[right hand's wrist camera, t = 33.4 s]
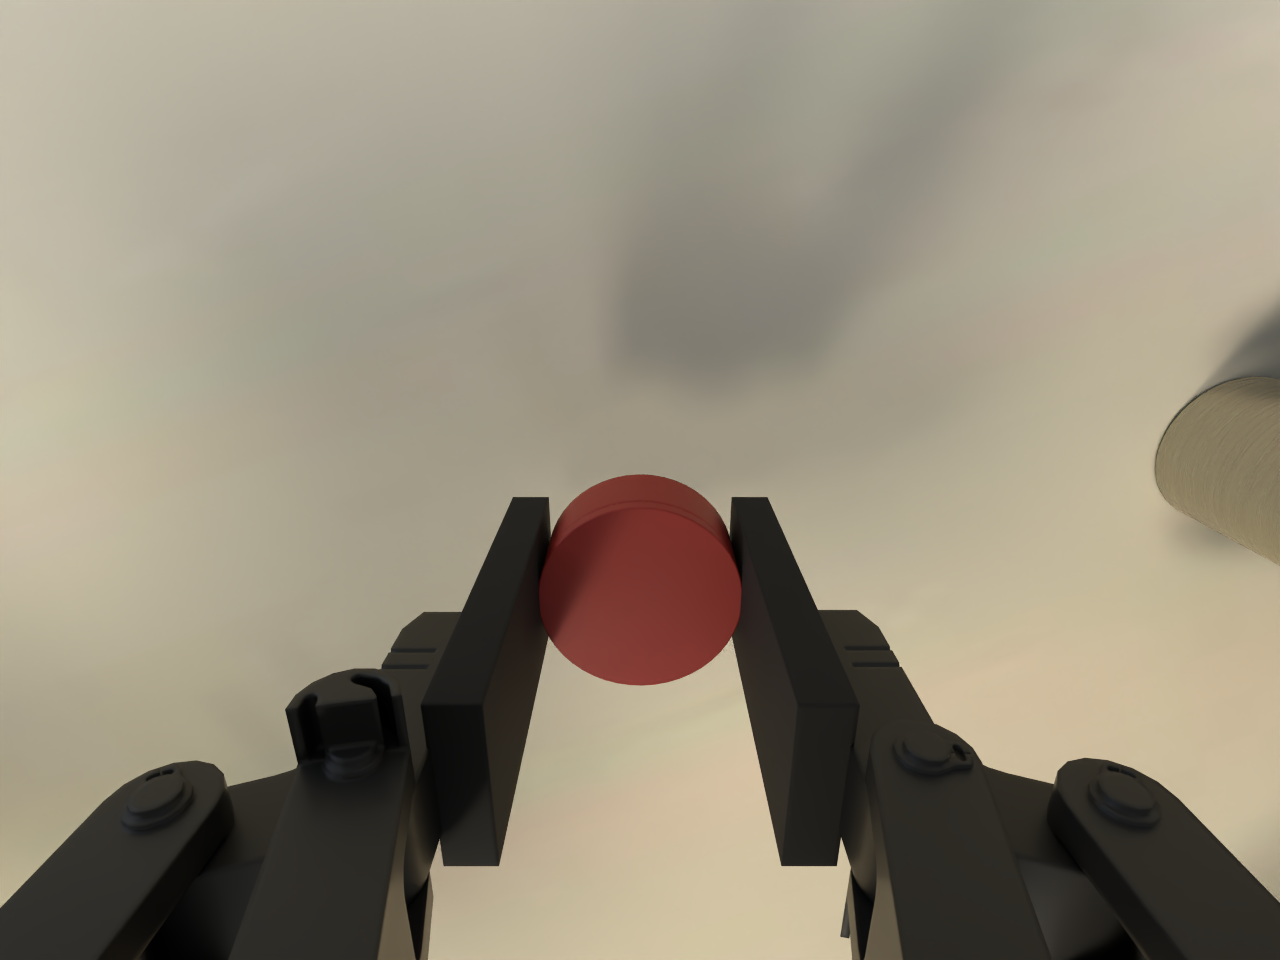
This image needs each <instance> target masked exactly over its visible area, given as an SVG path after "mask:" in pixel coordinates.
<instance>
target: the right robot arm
mask: <svg viewBox="0 0 1280 960" xmlns="http://www.w3.org/2000/svg"><path fill="white" fill-rule="evenodd" d="M550 539H551V531H550V512H549V497H513V498H512V501H511V503H510V505H509V507H508V510H507V512H506V514H505V516H504V519H503V521H502V523H501V525H500V528H499V530H498V532H497V534H496V537H495V539H494V541H493V543H492V546H491V548H490V550H489V552H488V555H487V557H486V559H485V561H484V563H483V566H482V568H481V570H480V572H479V575H478V577H477V579H476V581H475V584H474V586H473V588H472V590H471V593H470V595H469V597H468V599H467V602H466V604H465V606H464V608H463V611H462V612H423V613H422V614H421V615H420V616H418V617H417V618H416V619H414V620H413V621H412V622H411V623H409V624H408V625H407V626H406V627H404V628H403V629H402V630H401V632H400V634H399V636H398V637H397V639H396V641H395V643H394V644H393V646H392V648H391V653H388V655H387V657H386V658H385V660H384V662H383V664H382V669H379V670H378V669H351V670H346V671H342V672H337V673H333V674H331V675H328V676H326V677H324V678H322V679H319V680H317V681H315V682H313V683H311V684H310V685H308V686H307V687H306V688H304V689H303V690H302V691H300V692H299V693H298V694H296V695H295V696H294V698H293V699H292V701H291V702H290V703H289V705H288V706H287V708H286V709H285V711H286V715H287V719H288V724H289V728H290V732H291V736H292V741H293V745H294V749H295V753H296V758H297V762H298V765H297V768H296V769H294V770H291V771H288V772H285V773H281V774H278V775H275V776H271V777H267V778H263V779H258V780H254V781H250V782H246V783H242V784H237V785H233V786H229V787H227V784H226V781H225V777H224V774H223V773H222V772H221V771H220V770H219V769H218V768H217V767H216V766H215V765H214V764H210V763H205V762H201V761H188V762H178V763H172V764H169V765H166V766H163V767H160V768H157V769H154V770H151V771H148V772H146V773H144V774H143V775H141V776H139V777H137V778H135V779H133V780H132V781H130V782H128V783H126V784H124V785H123V786H122V787H120V788H119V789H118V790H117V791H116V792H114V793H113V794H112V795H111V796H109V797H108V798H107V799H106V800H105V801H103V802H102V803H101V804H100V806H99V807H98V808H97V809H96V810H95V811H94V812H93V813H92V814H91V815H90V816H89V817H88V818H87V819H86V820H85V821H84V822H83V823H82V824H81V825H80V826H79V827H78V828H77V829H76V830H75V831H74V832H73V833H72V835H71V836H70V837H69V838H68V839H67V840H66V841H65V842H64V843H63V844H62V845H61V846H60V847H59V848H58V849H57V850H56V851H55V852H54V853H53V854H52V855H51V856H50V857H49V858H48V859H47V860H46V861H45V862H44V863H43V865H42V866H41V867H40V868H39V869H38V870H37V871H36V872H35V873H34V874H33V875H32V876H31V877H30V878H29V879H28V880H27V881H26V882H25V883H24V884H23V885H22V886H21V887H20V888H19V889H18V890H17V891H16V892H15V894H14V895H13V896H12V897H11V898H10V899H9V900H8V901H7V902H6V903H5V904H4V905H3V906H2V907H1V908H0V960H428V951H429V939H430V928H431V917H432V906H433V891H432V884H431V877H430V867H431V864H432V861H433V858H434V855H435V852H436V849H437V846H438V842H439V839H440V844H441V851H442V858H443V865H444V866H499V863H500V859H501V854H502V849H503V845H504V840H505V836H506V831H507V826H508V822H509V817H510V812H511V808H512V803H513V798H514V794H515V789H516V785H517V780H518V775H519V771H520V766H521V761H522V757H523V752H524V747H525V743H526V738H527V734H528V729H529V724H530V720H531V715H532V710H533V706H534V701H535V696H536V692H537V687H538V683H539V678H540V673H541V669H542V664H543V659H544V655H545V650H546V646H547V641H548V634H547V632H546V630H545V628H544V625H543V623H542V619H541V615H540V600H539V579H540V575H541V572H542V568H543V565H544V561H545V557H546V554H547V550H548V546H549V543H550ZM730 540H731V544H732V548H733V551H734V555H735V558H736V562H737V566H738V569H739V573H740V577H741V582H742V591H741V607H740V618H739V622H738V624H737V626H736V629H735V631H734V633H733V635H732V639H733V643H734V648H735V653H736V657H737V662H738V667H739V671H740V676H741V681H742V685H743V690H744V694H745V699H746V704H747V708H748V713H749V718H750V722H751V727H752V732H753V736H754V741H755V745H756V750H757V755H758V759H759V764H760V769H761V773H762V778H763V782H764V787H765V792H766V796H767V801H768V806H769V810H770V815H771V820H772V824H773V829H774V833H775V838H776V843H777V847H778V852H779V857H780V861H781V866H837V861H838V854H839V847H840V840H841V838H842V841H843V844H844V847H845V850H846V853H847V856H848V859H849V863H850V866H851V871H850V877H849V884H848V890H847V897H846V903H845V910H844V916H843V923H842V930H841V937H845V938H849V936H850V938H851V949H852V960H1280V903H1279V902H1278V901H1277V900H1276V899H1275V898H1274V897H1273V895H1272V894H1271V893H1270V892H1269V891H1268V890H1267V889H1266V888H1265V887H1264V886H1263V885H1262V884H1261V883H1260V882H1259V881H1258V880H1257V879H1256V878H1255V877H1254V876H1253V875H1252V874H1251V873H1250V872H1249V871H1248V870H1247V869H1246V868H1245V867H1244V866H1243V865H1242V864H1241V863H1240V862H1239V861H1238V860H1237V858H1236V857H1235V856H1234V855H1233V854H1232V853H1231V852H1230V851H1229V850H1228V849H1227V848H1226V847H1225V846H1224V845H1223V844H1222V843H1221V842H1220V841H1219V840H1218V839H1217V838H1216V837H1215V836H1214V835H1213V834H1212V833H1211V832H1210V831H1209V830H1208V829H1207V828H1206V827H1205V826H1204V825H1203V824H1202V823H1201V821H1200V820H1199V819H1198V818H1197V817H1196V816H1195V815H1194V814H1193V813H1192V812H1191V811H1190V810H1189V809H1188V808H1187V807H1186V806H1185V805H1184V804H1183V803H1182V802H1181V801H1180V800H1179V799H1178V798H1177V797H1176V796H1174V795H1173V794H1172V793H1171V792H1169V791H1168V790H1167V789H1166V788H1165V787H1163V786H1162V785H1161V784H1160V783H1158V782H1157V781H1155V780H1153V779H1151V778H1150V777H1148V776H1146V775H1144V774H1142V773H1140V772H1139V771H1137V770H1135V769H1133V768H1130V767H1127V766H1124V765H1121V764H1118V763H1115V762H1112V761H1108V760H1101V759H1091V758H1082V759H1077V760H1073V761H1068V762H1067V763H1066V764H1065V765H1064V766H1063V767H1061V768H1060V769H1059V770H1058V772H1057V776H1056V779H1055V783H1054V784H1051V783H1046V782H1042V781H1038V780H1034V779H1029V778H1025V777H1021V776H1017V775H1012V774H1008V773H1005V772H1001V771H998V770H995V769H992V768H989V767H987V766H984V765H983V764H982V762H981V760H980V759H979V757H978V756H977V754H976V752H975V751H974V749H973V748H972V747H971V746H970V745H969V744H967V743H966V742H965V741H964V740H963V739H962V738H960V737H959V736H958V735H957V734H955V733H953V732H951V731H949V730H947V729H945V728H943V727H941V726H939V725H937V724H934V723H933V721H932V719H931V717H930V716H929V714H928V712H927V710H926V709H925V707H924V705H923V703H922V702H921V700H920V698H919V696H918V695H917V693H916V691H915V690H914V688H913V686H912V684H911V683H910V681H909V679H908V677H907V676H906V674H905V672H904V670H903V669H902V667H899V662H898V660H897V658H896V656H895V655H894V653H893V651H892V650H890V646H889V644H888V643H887V641H886V639H885V637H884V636H883V634H882V632H881V630H880V629H879V627H878V626H877V625H875V624H874V623H873V622H872V621H870V620H869V619H868V618H866V617H865V616H864V615H863V614H861V613H860V612H859V611H857V610H818V609H817V607H816V605H815V603H814V600H813V598H812V596H811V594H810V592H809V589H808V587H807V585H806V583H805V580H804V578H803V576H802V574H801V571H800V569H799V567H798V565H797V562H796V560H795V558H794V556H793V553H792V551H791V549H790V547H789V544H788V542H787V540H786V538H785V536H784V533H783V531H782V529H781V527H780V524H779V522H778V520H777V518H776V515H775V513H774V511H773V509H772V506H771V504H770V502H769V500H768V497H732V502H731V521H730Z"/></svg>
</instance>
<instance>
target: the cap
mask: <svg viewBox="0 0 1280 960" xmlns="http://www.w3.org/2000/svg"><path fill="white" fill-rule="evenodd" d="M741 591H742V582H741V577H740V573H739V569H738V566H737V562H736V558H735V555H734V551H733V548H732V544H731V540H730V537H729V534H728V531H727V528H726V526H725V524H724V522H723V520H722V518H721V516H720V515H719V514H718V512H717V511H716V509H715V508H714V507H713V506H712V505H711V504H710V503H709V502H708V501H707V500H706V499H705V498H704V497H703V496H701V495H700V494H699V493H698V492H696V491H695V490H693V489H691V488H690V487H688V486H686V485H684V484H682V483H679V482H677V481H675V480H671V479H668V478H665V477H660V476H654V475H626V476H621V477H616V478H612V479H609V480H606V481H603V482H601V483H599V484H597V485H595V486H593V487H591V488H589V489H587V490H586V491H585V492H583V493H581V494H580V495H579V496H578V497H577V498H576V499H574V500H573V501H572V502H571V503H570V504H569V506H568V507H567V508H566V509H565V510H564V511H563V513H562V515H561V516H560V518H559V519H558V521H557V523H556V525H555V527H554V530H553V533H552V536H551V539H550V543H549V546H548V550H547V554H546V557H545V561H544V565H543V568H542V572H541V575H540V579H539V600H540V615H541V619H542V623H543V625H544V628H545V630H546V632H547V634H548V636H549V637H550V639H551V640H552V642H553V643H554V645H555V646H556V647H557V648H558V650H559V651H560V652H561V653H562V654H563V655H564V656H565V657H566V658H567V659H568V660H570V661H571V662H572V663H573V664H575V665H576V666H578V667H579V668H580V669H582V670H584V671H586V672H588V673H590V674H591V675H593V676H596V677H599V678H601V679H604V680H607V681H611V682H615V683H620V684H627V685H655V684H660V683H666V682H670V681H673V680H677V679H680V678H682V677H684V676H687V675H689V674H691V673H693V672H695V671H697V670H698V669H700V668H702V667H703V666H705V665H706V664H707V663H709V662H710V661H711V660H712V659H713V658H714V657H716V656H717V655H718V654H719V653H720V652H721V650H722V649H723V648H724V647H725V645H726V644H727V643H728V641H729V640H730V638H731V636H732V635H733V633H734V631H735V629H736V626H737V624H738V622H739V618H740V607H741Z"/></svg>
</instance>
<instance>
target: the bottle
mask: <svg viewBox="0 0 1280 960" xmlns="http://www.w3.org/2000/svg"><path fill="white" fill-rule="evenodd" d="M1155 467H1156V478H1157V483H1158V486H1159V488H1160V491H1161V493H1162V494H1163V496H1164V497H1165V499H1166V500H1167V501H1168V502H1169V503H1170V504H1171V505H1172V506H1173V507H1174V508H1176V509H1177V510H1179V511H1181V512H1182V513H1184V514H1186V515H1188V516H1190V517H1192V518H1193V519H1195V520H1197V521H1199V522H1201V523H1203V524H1204V525H1206V526H1208V527H1210V528H1212V529H1214V530H1215V531H1217V532H1219V533H1221V534H1223V535H1225V536H1226V537H1228V538H1230V539H1232V540H1234V541H1236V542H1237V543H1239V544H1241V545H1243V546H1245V547H1247V548H1248V549H1250V550H1252V551H1254V552H1256V553H1258V554H1259V555H1261V556H1263V557H1265V558H1267V559H1269V560H1270V561H1272V562H1274V563H1276V564H1278V565H1280V380H1278V379H1274V378H1270V377H1246V378H1240V379H1236V380H1232V381H1229V382H1226V383H1223V384H1221V385H1218V386H1216V387H1214V388H1212V389H1210V390H1208V391H1206V392H1205V393H1203V394H1202V395H1200V396H1199V397H1197V398H1196V399H1195V400H1194V401H1192V402H1191V403H1190V404H1189V405H1187V406H1186V407H1185V408H1184V409H1183V410H1182V411H1181V412H1180V413H1179V415H1178V416H1177V417H1176V418H1175V419H1174V421H1173V422H1172V423H1171V425H1170V426H1169V428H1168V429H1167V431H1166V433H1165V435H1164V437H1163V439H1162V441H1161V444H1160V446H1159V449H1158V453H1157V457H1156V466H1155Z"/></svg>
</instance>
